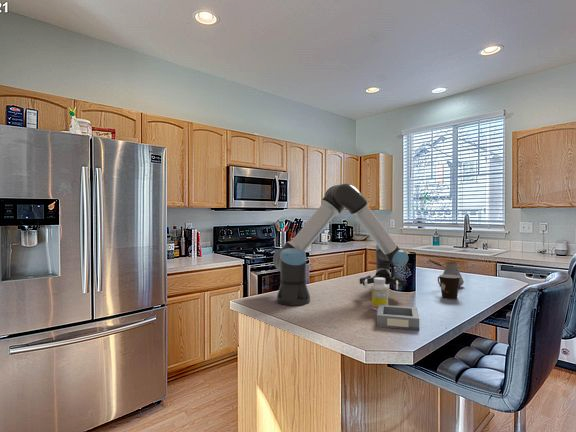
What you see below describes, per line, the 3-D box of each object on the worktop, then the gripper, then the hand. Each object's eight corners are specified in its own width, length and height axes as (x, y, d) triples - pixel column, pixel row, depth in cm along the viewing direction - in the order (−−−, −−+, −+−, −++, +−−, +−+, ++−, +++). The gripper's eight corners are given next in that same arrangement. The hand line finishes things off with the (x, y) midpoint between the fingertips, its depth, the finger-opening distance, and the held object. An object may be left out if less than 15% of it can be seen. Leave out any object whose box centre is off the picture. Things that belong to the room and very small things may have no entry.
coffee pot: (451, 283, 188) (451, 256, 188) (468, 287, 178) (468, 259, 178) (420, 286, 181) (420, 258, 181) (436, 291, 171) (436, 261, 170)
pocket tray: (376, 326, 118) (376, 315, 118) (378, 314, 132) (378, 304, 132) (419, 330, 114) (419, 318, 114) (417, 318, 128) (416, 307, 128)
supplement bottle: (375, 306, 144) (375, 276, 144) (390, 308, 140) (390, 278, 140) (368, 309, 139) (368, 278, 139) (384, 312, 135) (383, 280, 135)
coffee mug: (462, 300, 152) (462, 278, 152) (441, 299, 154) (441, 277, 154) (454, 294, 164) (454, 273, 164) (436, 293, 165) (435, 273, 165)
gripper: (409, 285, 165) (411, 295, 145) (357, 282, 173) (352, 292, 153) (409, 270, 165) (410, 278, 145) (357, 268, 173) (352, 276, 153)
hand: (381, 285), depth 149 cm, fingers open, 13 cm apart
